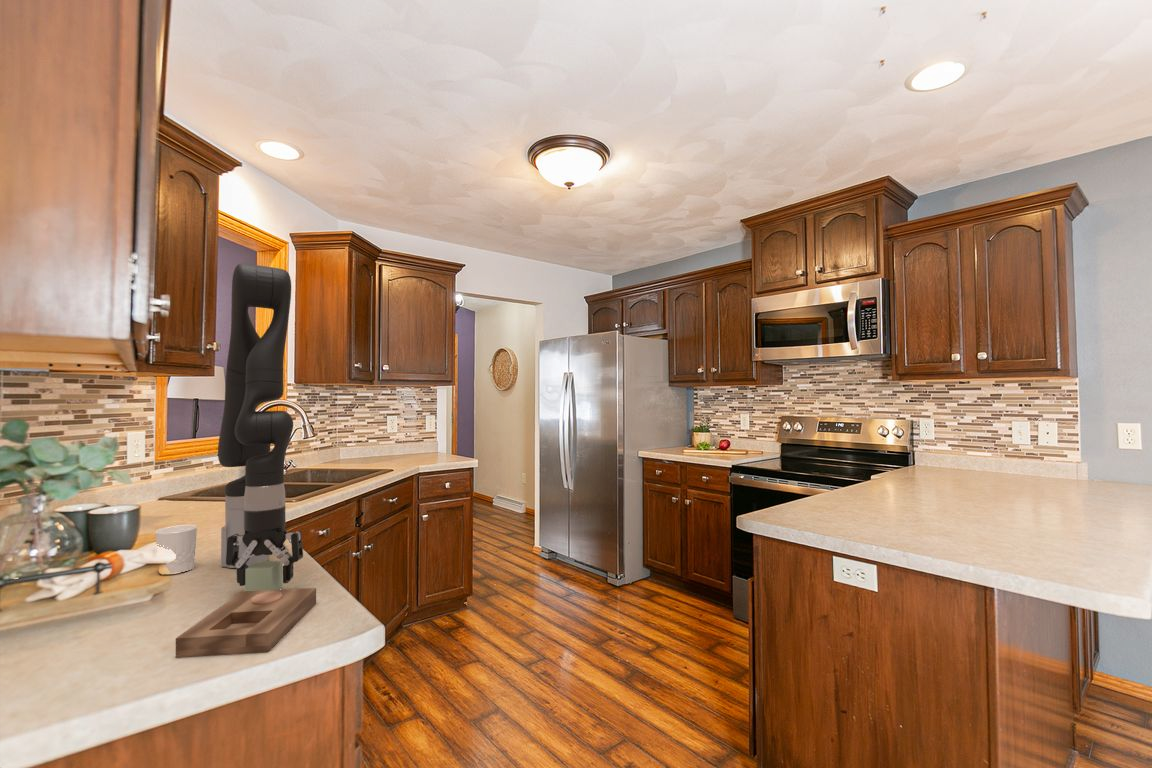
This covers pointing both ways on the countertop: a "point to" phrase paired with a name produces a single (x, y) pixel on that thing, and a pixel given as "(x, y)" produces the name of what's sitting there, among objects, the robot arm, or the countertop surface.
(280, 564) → the green block
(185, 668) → the countertop surface
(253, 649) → the puzzle board
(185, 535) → the white cup
